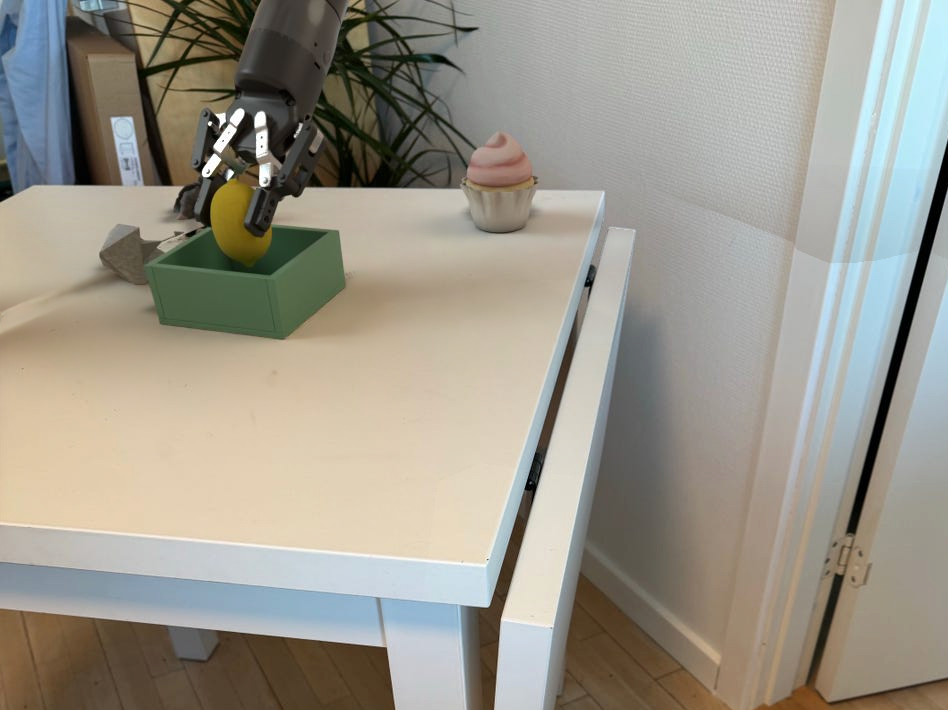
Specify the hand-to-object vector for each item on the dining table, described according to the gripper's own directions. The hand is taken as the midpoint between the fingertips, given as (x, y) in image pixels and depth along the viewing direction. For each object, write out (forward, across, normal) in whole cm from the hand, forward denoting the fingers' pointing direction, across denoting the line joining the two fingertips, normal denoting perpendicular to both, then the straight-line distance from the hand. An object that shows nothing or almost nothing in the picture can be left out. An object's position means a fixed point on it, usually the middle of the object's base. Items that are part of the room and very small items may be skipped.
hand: (228, 227), depth 84 cm
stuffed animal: (-8, -21, +20) cm, 30 cm away
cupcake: (-18, +10, +30) cm, 36 cm away
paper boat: (+5, -15, +7) cm, 17 cm away
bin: (+4, 0, +7) cm, 8 cm away
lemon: (+2, 0, +4) cm, 5 cm away
